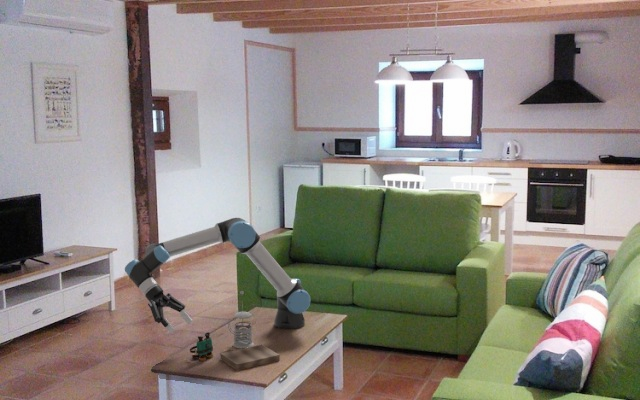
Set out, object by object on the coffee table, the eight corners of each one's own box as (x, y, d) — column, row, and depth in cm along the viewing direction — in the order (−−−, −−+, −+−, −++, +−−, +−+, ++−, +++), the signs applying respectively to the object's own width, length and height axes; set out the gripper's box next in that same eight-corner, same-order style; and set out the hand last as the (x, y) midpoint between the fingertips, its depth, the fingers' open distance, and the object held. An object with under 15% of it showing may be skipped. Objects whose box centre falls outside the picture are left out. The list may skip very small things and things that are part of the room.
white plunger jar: (250, 348, 306) (249, 294, 303) (225, 347, 309) (224, 293, 306) (256, 341, 316) (255, 288, 313) (232, 340, 318) (231, 287, 315)
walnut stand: (261, 349, 305) (261, 344, 304) (279, 360, 291) (279, 354, 291) (220, 359, 294) (220, 353, 293) (237, 370, 280) (236, 364, 280)
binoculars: (197, 330, 302) (214, 332, 296) (200, 354, 303) (217, 355, 297) (183, 336, 294) (200, 337, 289) (186, 360, 295) (203, 362, 290)
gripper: (163, 288, 314) (192, 324, 310) (128, 302, 291) (159, 340, 287) (172, 278, 312) (202, 313, 308) (138, 291, 289) (170, 329, 285)
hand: (181, 326), depth 298 cm, fingers open, 13 cm apart
